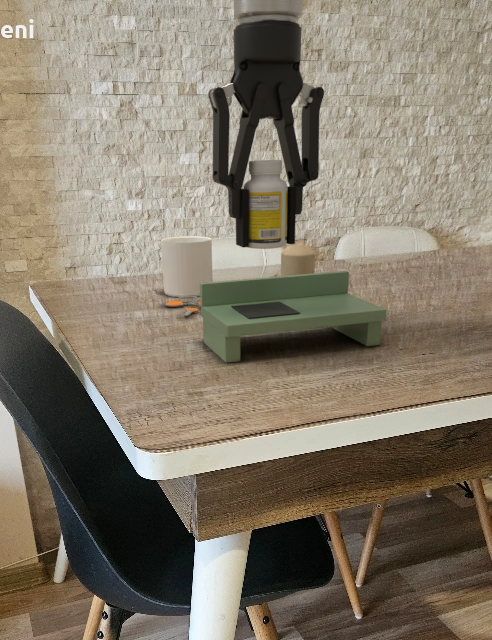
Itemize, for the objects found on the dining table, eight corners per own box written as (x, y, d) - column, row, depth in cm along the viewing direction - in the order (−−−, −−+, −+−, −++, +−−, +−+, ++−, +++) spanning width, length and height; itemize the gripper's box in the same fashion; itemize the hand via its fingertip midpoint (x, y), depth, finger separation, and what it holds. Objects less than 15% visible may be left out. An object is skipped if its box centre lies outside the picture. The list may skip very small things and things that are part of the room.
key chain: (160, 301, 116) (159, 296, 115) (199, 297, 118) (199, 292, 118) (182, 317, 105) (181, 312, 105) (225, 313, 107) (225, 307, 107)
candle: (281, 301, 115) (282, 240, 110) (313, 302, 114) (316, 240, 109) (278, 308, 110) (279, 245, 105) (312, 309, 109) (314, 245, 104)
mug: (217, 295, 120) (216, 241, 116) (167, 299, 118) (164, 244, 114) (204, 283, 130) (203, 233, 126) (158, 286, 129) (155, 235, 124)
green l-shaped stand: (383, 346, 89) (389, 285, 86) (228, 365, 83) (226, 300, 80) (342, 325, 99) (346, 270, 96) (201, 340, 94) (199, 282, 90)
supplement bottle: (261, 242, 87) (262, 159, 83) (295, 245, 84) (297, 159, 80) (234, 247, 84) (234, 161, 79) (269, 250, 81) (270, 161, 76)
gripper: (328, 29, 79) (319, 236, 89) (177, 26, 74) (187, 245, 85) (359, 19, 72) (345, 243, 83) (196, 15, 68) (203, 253, 78)
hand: (265, 243), depth 84 cm, fingers closed on supplement bottle, 5 cm apart
